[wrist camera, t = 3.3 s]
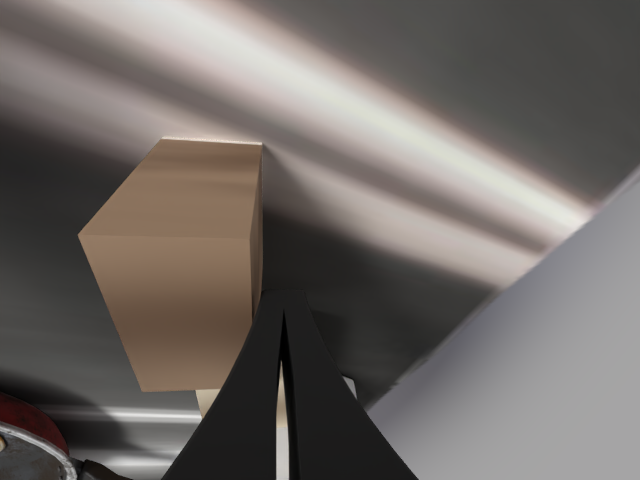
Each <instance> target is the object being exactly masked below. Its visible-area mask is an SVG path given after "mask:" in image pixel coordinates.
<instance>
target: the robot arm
mask: <svg viewBox="0 0 640 480" xmlns="http://www.w3.org/2000/svg"><path fill="white" fill-rule="evenodd" d="M281 361H282V372H283V383H284V394H285V405H286V415H287V426H288V445H289V480H419V479H418V478H417V477H416V476H415V475H414V474H413V473H412V471H411V470H410V469H409V468H408V467H407V465H406V464H405V463H404V462H403V460H402V459H401V458H400V457H399V456H398V454H397V453H396V452H395V451H394V449H393V448H392V447H391V446H390V444H389V443H388V442H387V440H386V439H385V438H384V436H383V435H382V434H381V432H380V431H379V430H378V428H377V427H376V426H375V424H374V423H373V422H372V421H371V419H370V418H369V416H368V415H367V413H366V412H365V410H364V409H363V408H362V406H361V405H360V403H359V402H358V400H357V399H356V397H355V396H354V394H353V393H352V391H351V389H350V388H349V386H348V385H347V383H346V381H345V380H344V378H343V376H342V375H341V373H340V371H339V369H338V368H337V366H336V364H335V362H334V360H333V359H332V357H331V355H330V353H329V351H328V349H327V347H326V345H325V343H324V341H323V339H322V337H321V335H320V333H319V330H318V328H317V326H316V324H315V321H314V319H313V316H312V314H311V311H310V308H309V305H308V302H307V299H306V295H305V292H304V291H303V290H263V291H262V292H261V296H260V301H259V305H258V308H257V311H256V314H255V317H254V320H253V323H252V325H251V328H250V330H249V333H248V335H247V337H246V340H245V342H244V345H243V347H242V349H241V351H240V353H239V355H238V357H237V359H236V361H235V363H234V365H233V367H232V369H231V371H230V373H229V375H228V377H227V379H226V381H225V382H224V384H223V386H222V388H221V390H220V391H219V393H218V395H217V396H216V398H215V400H214V402H213V403H212V405H211V407H210V408H209V410H208V411H207V413H206V415H205V416H204V418H203V419H202V421H201V422H200V424H199V426H198V427H197V429H196V430H195V432H194V433H193V435H192V436H191V438H190V439H189V441H188V442H187V444H186V445H185V447H184V448H183V450H182V451H181V452H180V454H179V455H178V457H177V458H176V459H175V461H174V462H173V464H172V465H171V466H170V468H169V469H168V471H167V472H166V473H165V475H164V476H163V477H162V479H161V480H276V416H277V402H278V391H279V380H280V369H281Z"/></svg>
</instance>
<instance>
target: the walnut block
mask: <svg viewBox="0 0 640 480" xmlns="http://www.w3.org/2000/svg"><path fill="white" fill-rule="evenodd" d="M78 237H79V239H80V242H81V244H82V247H83V249H84V251H85V254H86V256H87V259H88V261H89V264H90V266H91V268H92V271H93V273H94V276H95V278H96V281H97V283H98V285H99V288H100V290H101V293H102V295H103V297H104V300H105V302H106V305H107V307H108V310H109V312H110V314H111V317H112V319H113V322H114V324H115V327H116V329H117V331H118V334H119V336H120V339H121V341H122V344H123V346H124V348H125V351H126V353H127V356H128V358H129V361H130V363H131V365H132V368H133V370H134V373H135V375H136V377H137V380H138V382H139V385H140V387H141V390H142V392H155V391H181V390H207V389H221V388H222V386H223V384H224V382H225V381H226V379H227V377H228V375H229V373H230V371H231V369H232V367H233V365H234V363H235V361H236V359H237V357H238V355H239V353H240V351H241V349H242V347H243V345H244V342H245V340H246V337H247V335H248V333H249V330H250V328H251V325H252V323H253V320H254V317H255V314H256V311H257V308H258V305H259V301H260V296H261V286H262V271H263V212H262V143H256V142H240V141H224V140H208V139H192V138H176V137H162V138H161V140H160V141H159V142H158V143H157V144H156V145H155V146H154V148H153V149H152V150H151V151H150V152H149V153H148V155H147V156H146V157H145V158H144V159H143V160H142V161H141V163H140V164H139V165H138V166H137V167H136V168H135V169H134V171H133V172H132V173H131V174H130V175H129V176H128V178H127V179H126V180H125V181H124V182H123V183H122V184H121V186H120V187H119V188H118V189H117V190H116V191H115V192H114V194H113V195H112V196H111V197H110V198H109V199H108V200H107V202H106V203H105V204H104V205H103V206H102V207H101V209H100V210H99V211H98V212H97V213H96V214H95V215H94V217H93V218H92V219H91V220H90V221H89V222H88V223H87V225H86V226H85V227H84V228H83V229H82V230H81V232H80V233H79V234H78Z"/></svg>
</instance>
